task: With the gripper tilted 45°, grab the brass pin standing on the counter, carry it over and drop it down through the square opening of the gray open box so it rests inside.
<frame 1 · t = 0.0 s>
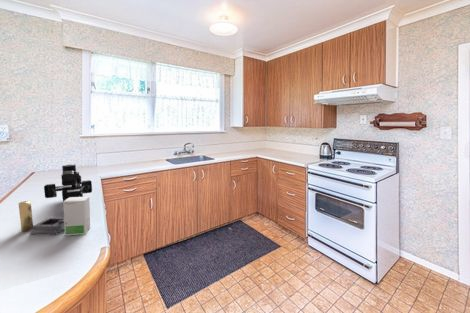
hand: (68, 193, 103), 17 cm above the countertop, tool horizontal, fingers open, 9 cm apart
skincare box: (78, 232, 100), on the countertop
brass pin: (27, 229, 101), on the countertop
gray open box: (52, 230, 101), on the countertop
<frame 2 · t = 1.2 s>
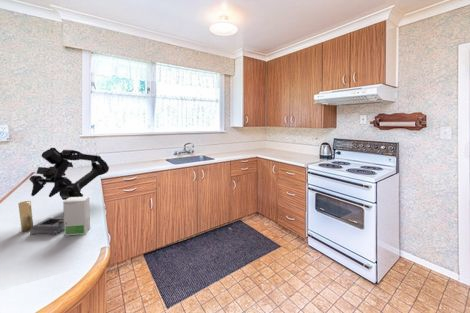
hand: (40, 196, 106), 13 cm above the countertop, tool tilted 45°, fingers open, 9 cm apart
nothing on the countertop moved.
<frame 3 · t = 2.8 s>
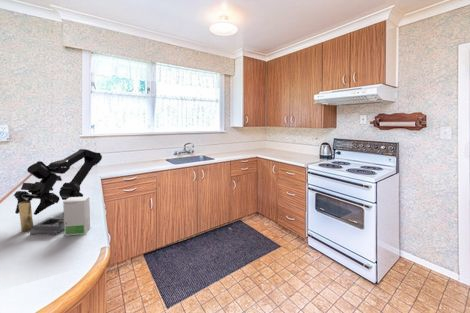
hand: (25, 213, 100), 8 cm above the countertop, tool tilted 45°, fingers open, 9 cm apart
nothing on the countertop moved.
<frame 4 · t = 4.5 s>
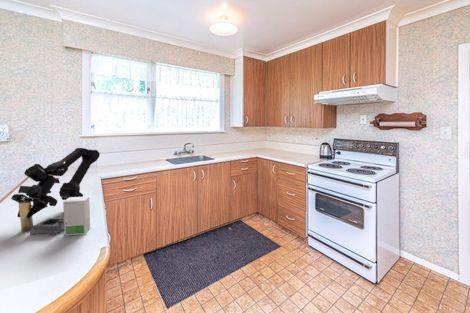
hand: (22, 217, 99), 7 cm above the countertop, tool tilted 45°, fingers closed on brass pin, 4 cm apart
brass pin: (27, 229, 101), on the countertop, touching gripper
everything else where it was.
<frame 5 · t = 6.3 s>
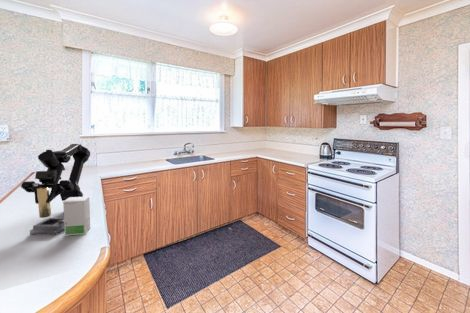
hand: (42, 203, 98), 14 cm above the countertop, tool tilted 45°, fingers closed on brass pin, 4 cm apart
brass pin: (45, 216, 100), point 7 cm above the countertop, touching gripper
everything else where it was.
when the fingers open (9 cm above the countertop, at t = 8.2 s): brass pin drops 2 cm, resting in gray open box.
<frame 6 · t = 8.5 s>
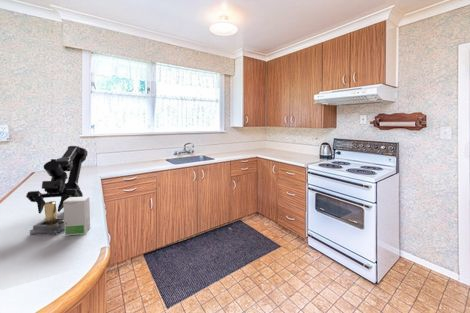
hand: (49, 212, 99), 9 cm above the countertop, tool tilted 45°, fingers open, 7 cm apart
brass pin: (52, 230, 101), resting in gray open box
everything else where it was.
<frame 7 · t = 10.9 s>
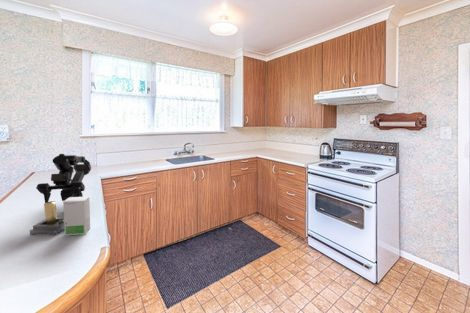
hand: (57, 202, 107), 10 cm above the countertop, tool tilted 45°, fingers open, 9 cm apart
nothing on the countertop moved.
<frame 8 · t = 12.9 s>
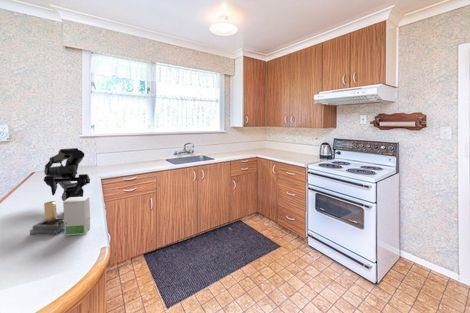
hand: (64, 194, 110), 14 cm above the countertop, tool tilted 45°, fingers open, 9 cm apart
nothing on the countertop moved.
at the end: brass pin 0.0 cm off-centre on the gray open box, point 0.0 cm above the gray open box's base; brass pin tilted 0°; the gripper is holding nothing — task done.
